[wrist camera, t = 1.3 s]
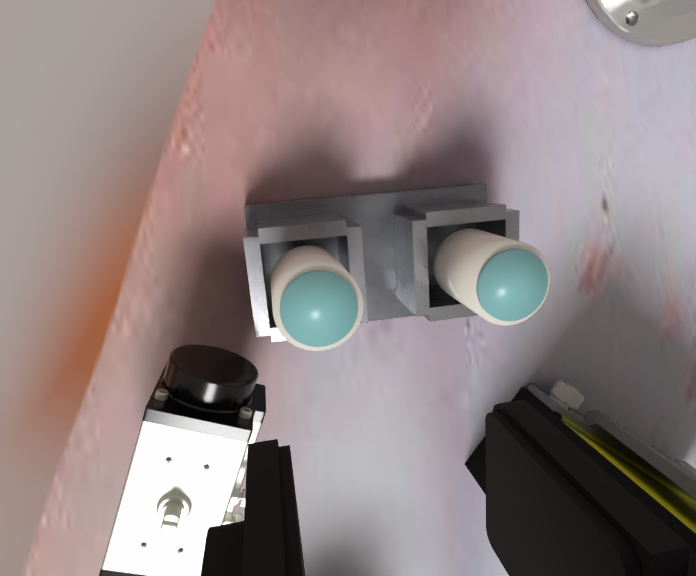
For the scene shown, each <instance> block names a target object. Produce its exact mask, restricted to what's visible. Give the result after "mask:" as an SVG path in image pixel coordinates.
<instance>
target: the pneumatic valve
mask: <svg viewBox="0 0 696 576" xmlns="http://www.w3.org/2000/svg"><path fill="white" fill-rule="evenodd" d="M257 379H258V371H257V369H256V367H255V366H254V365H253V364H252V363H251V362H250V361H248V360H247V359H245V358H244V357H242V356H240V355H238V354H236V353H233V352H231V351H228V350H225V349H221V348H217V347H213V346H206V345H185V346H181V347H178V348H176V349H174V350H173V351H172V352H171V353H170V356H169V360H168V362H167V364H166V366H165V368H164V370H163V372H162V374H161V376H160V378H159V381H158V383H157V385H156V387H155V389H154V391H153V393H152V395H151V397H150V399H149V402H148V404H147V406H146V408H145V412H144V416H143V419H142V423H141V426H140V430H139V434H138V437H137V441H136V444H135V448H134V451H133V455H132V459H131V462H130V466H129V469H128V473H127V477H126V480H125V484H124V487H123V491H122V495H121V498H120V502H119V505H118V509H117V513H116V516H115V520H114V523H113V527H112V531H111V534H110V538H109V541H108V545H107V549H106V552H105V556H104V559H103V563H102V566H101V570H100V574H99V576H201V569H202V562H203V555H204V549H205V542H206V536H207V531H208V529H209V527H213V526H219V525H224V524H230V523H235V522H241V521H242V514H241V513H235V516H234V517H232V515H233V511H234V508H235V505H237V503H238V501H240V504H239V505H240V506H242V507H245V495H246V489H243V491H242V493H240V490H241V486H242V483H243V480H244V477H245V474H246V471H247V452H248V444H250V443H256V440H257V437H258V434H259V431H260V428H261V425H262V422H263V419H264V416H265V413H266V397H265V386H264V385H260V384H256V382H257Z"/></svg>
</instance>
